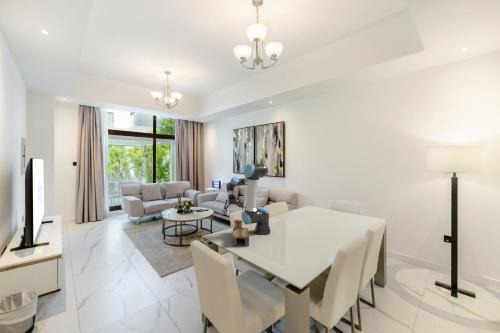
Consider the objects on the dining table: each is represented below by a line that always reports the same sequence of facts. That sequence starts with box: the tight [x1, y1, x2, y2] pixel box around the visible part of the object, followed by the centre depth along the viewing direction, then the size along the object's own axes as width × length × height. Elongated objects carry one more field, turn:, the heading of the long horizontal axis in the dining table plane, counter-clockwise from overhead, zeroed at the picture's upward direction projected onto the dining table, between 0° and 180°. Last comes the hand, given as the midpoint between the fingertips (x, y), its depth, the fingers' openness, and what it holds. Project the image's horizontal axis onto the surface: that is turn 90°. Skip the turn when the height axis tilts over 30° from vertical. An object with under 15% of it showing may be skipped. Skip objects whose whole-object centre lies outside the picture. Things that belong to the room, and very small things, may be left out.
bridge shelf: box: [232, 227, 250, 247], centre depth 182 cm, size 13×20×8 cm, turn 3°
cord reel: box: [233, 219, 243, 228], centre depth 200 cm, size 7×7×12 cm
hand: (235, 214), depth 210 cm, fingers open, 13 cm apart
